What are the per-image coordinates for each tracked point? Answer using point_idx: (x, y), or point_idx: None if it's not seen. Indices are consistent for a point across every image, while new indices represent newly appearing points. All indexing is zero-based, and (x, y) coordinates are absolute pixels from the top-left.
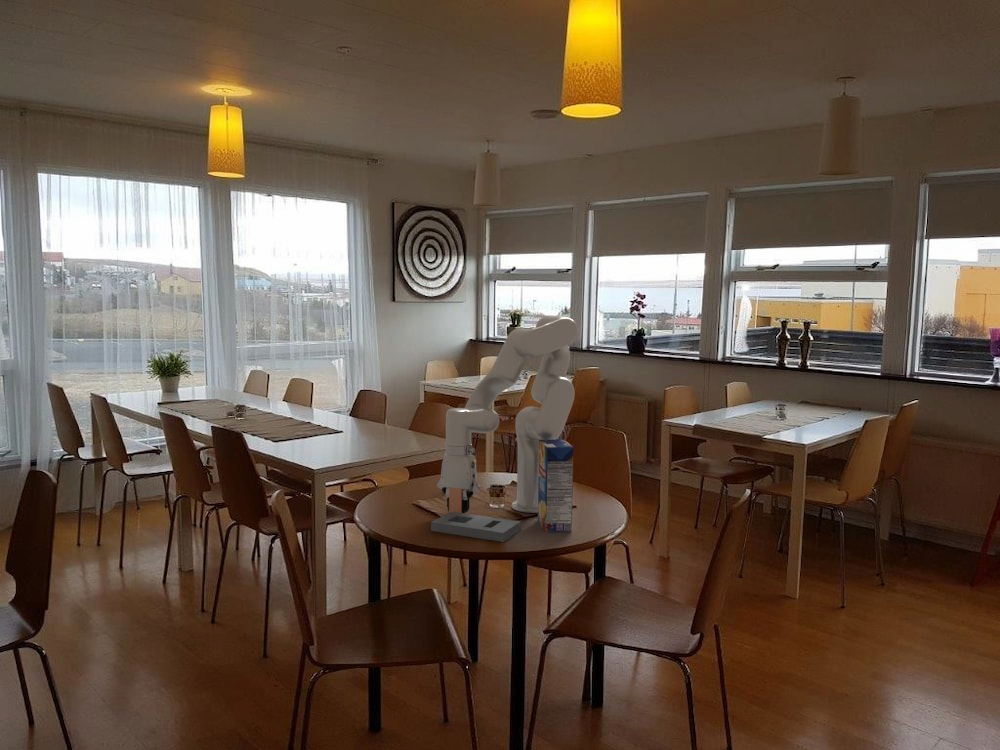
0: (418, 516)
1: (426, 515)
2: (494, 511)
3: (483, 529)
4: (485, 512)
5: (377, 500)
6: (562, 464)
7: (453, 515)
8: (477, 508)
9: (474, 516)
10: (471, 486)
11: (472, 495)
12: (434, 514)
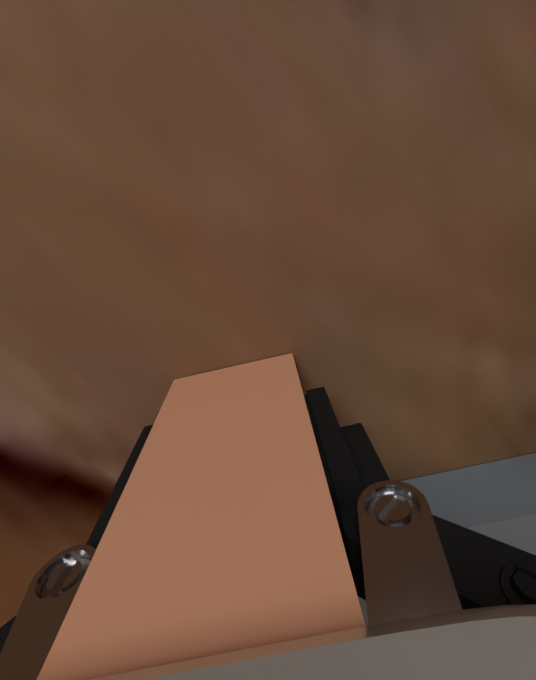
0: (26, 582)
1: (41, 538)
2: (428, 15)
3: None
4: (364, 133)
5: None
6: None
7: (366, 624)
8: (186, 45)
9: (533, 551)
10: (477, 611)
11: (488, 545)
12: (59, 488)
